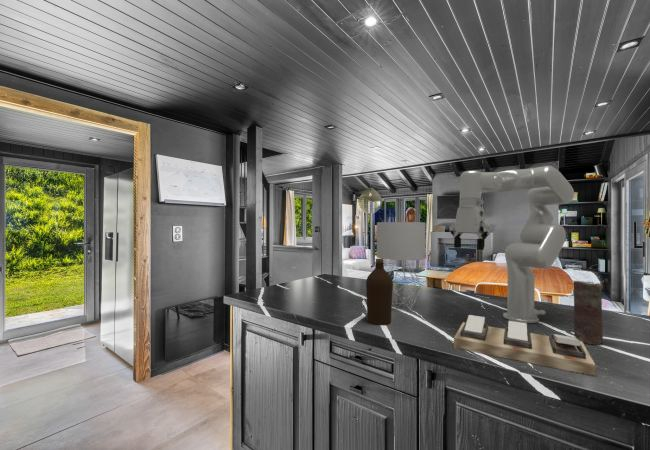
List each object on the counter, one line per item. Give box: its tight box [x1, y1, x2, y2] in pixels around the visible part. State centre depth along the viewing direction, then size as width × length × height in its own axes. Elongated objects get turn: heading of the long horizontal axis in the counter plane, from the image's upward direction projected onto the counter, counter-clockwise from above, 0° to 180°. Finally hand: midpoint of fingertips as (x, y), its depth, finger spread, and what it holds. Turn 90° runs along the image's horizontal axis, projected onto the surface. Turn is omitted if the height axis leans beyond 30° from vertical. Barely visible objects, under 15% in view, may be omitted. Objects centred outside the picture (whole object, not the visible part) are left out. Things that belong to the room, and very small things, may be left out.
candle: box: [573, 280, 604, 345], centre depth 104 cm, size 8×7×20 cm
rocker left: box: [464, 314, 486, 335], centre depth 102 cm, size 5×11×1 cm, turn 148°
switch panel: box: [453, 320, 596, 377], centre depth 96 cm, size 34×19×4 cm, turn 58°
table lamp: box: [376, 221, 427, 311], centre depth 146 cm, size 22×22×40 cm
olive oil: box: [365, 258, 394, 326], centre depth 123 cm, size 11×11×25 cm
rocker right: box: [553, 333, 580, 346], centre depth 90 cm, size 5×11×1 cm, turn 148°
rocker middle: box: [507, 320, 528, 343], centre depth 96 cm, size 5×11×1 cm, turn 148°
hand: (468, 248), depth 117 cm, fingers open, 9 cm apart
